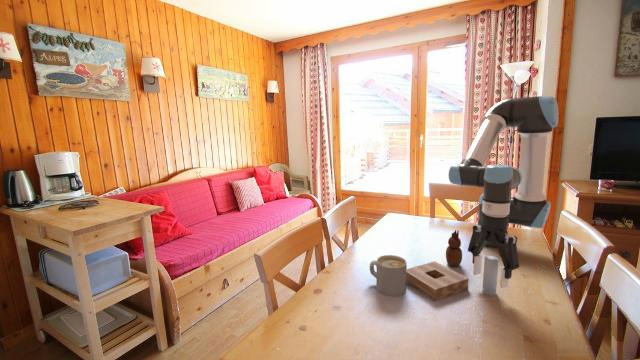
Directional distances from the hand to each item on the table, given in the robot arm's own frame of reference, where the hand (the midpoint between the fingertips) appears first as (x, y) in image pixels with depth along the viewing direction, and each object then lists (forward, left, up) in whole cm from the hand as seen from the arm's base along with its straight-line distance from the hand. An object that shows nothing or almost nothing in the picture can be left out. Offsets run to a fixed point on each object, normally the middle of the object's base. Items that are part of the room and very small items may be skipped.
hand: (490, 279), depth 102 cm
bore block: (+12, -12, -4) cm, 18 cm away
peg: (0, 0, -4) cm, 4 cm away
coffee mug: (+27, -19, -5) cm, 33 cm away
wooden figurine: (-6, -20, -5) cm, 21 cm away
